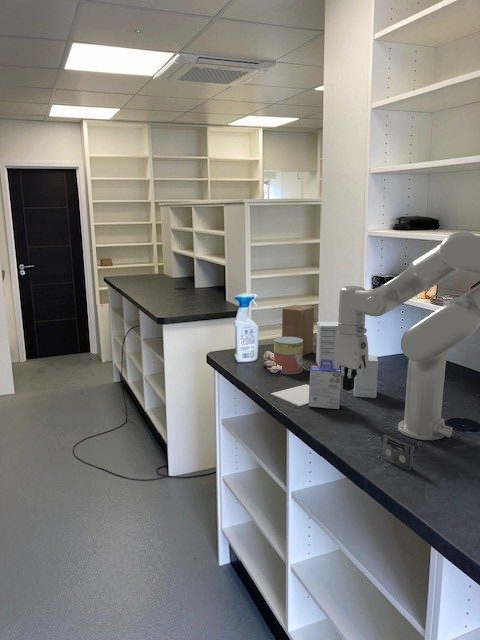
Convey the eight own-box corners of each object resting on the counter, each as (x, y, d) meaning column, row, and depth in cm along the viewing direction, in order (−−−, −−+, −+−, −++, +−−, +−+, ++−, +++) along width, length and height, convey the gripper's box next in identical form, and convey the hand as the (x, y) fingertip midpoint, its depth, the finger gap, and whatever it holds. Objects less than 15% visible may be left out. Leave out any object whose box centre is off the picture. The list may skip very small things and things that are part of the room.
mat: (335, 396, 171) (335, 395, 171) (298, 406, 162) (299, 405, 162) (306, 385, 183) (306, 384, 183) (270, 394, 174) (271, 393, 173)
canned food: (295, 375, 193) (296, 344, 191) (268, 371, 199) (268, 341, 197) (307, 368, 203) (307, 338, 201) (281, 364, 208) (281, 335, 206)
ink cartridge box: (339, 403, 165) (343, 359, 161) (340, 410, 160) (343, 365, 156) (308, 400, 167) (311, 357, 163) (307, 407, 161) (310, 362, 158)
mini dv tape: (412, 469, 123) (414, 445, 121) (408, 471, 122) (410, 447, 121) (385, 456, 129) (386, 434, 128) (381, 458, 128) (382, 435, 127)
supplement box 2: (376, 398, 170) (378, 361, 167) (353, 396, 171) (355, 360, 169) (375, 390, 177) (377, 355, 174) (353, 389, 178) (355, 354, 176)
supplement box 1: (342, 367, 203) (343, 326, 200) (318, 367, 203) (319, 326, 200) (337, 361, 213) (339, 321, 209) (315, 361, 213) (316, 321, 209)
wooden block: (281, 353, 225) (281, 307, 221) (294, 348, 233) (295, 304, 229) (300, 356, 219) (301, 310, 215) (313, 352, 226) (314, 307, 222)
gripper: (380, 332, 146) (376, 393, 150) (341, 323, 158) (338, 380, 162) (362, 335, 142) (358, 399, 146) (323, 326, 154) (321, 384, 157)
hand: (348, 389), depth 154 cm, fingers closed
